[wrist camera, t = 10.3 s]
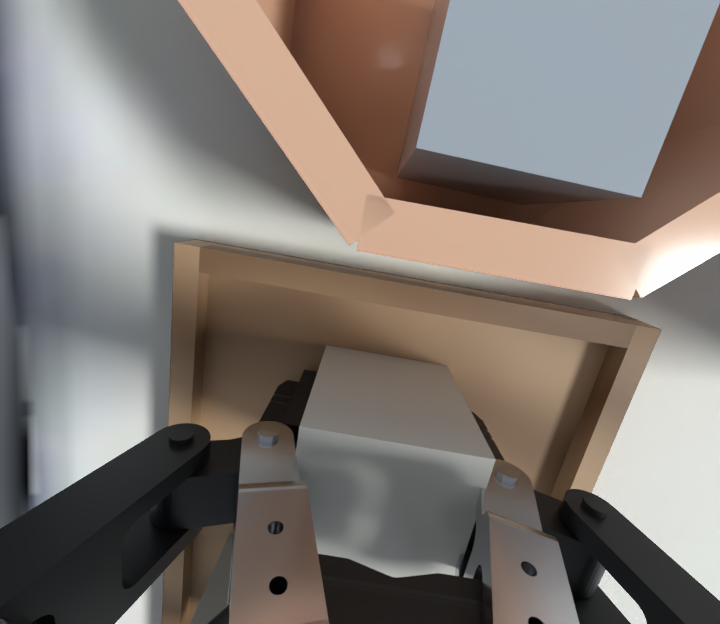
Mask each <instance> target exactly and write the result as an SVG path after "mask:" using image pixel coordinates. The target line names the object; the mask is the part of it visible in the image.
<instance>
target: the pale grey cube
mask: <svg viewBox="0 0 720 624" xmlns="http://www.w3.org/2000/svg"><path fill="white" fill-rule="evenodd" d="M295 457H297V464H298V471H299V478H300V481H306V484H307V489H308V495H309V501H310V507H311V513H312V520H313V526H314V532H315V538H316V545H317V551H318V554H324V555H330V556H336V557H342V558H348V559H351V560H353V561H355V562H358V563H360V564H362V565H365V566H367V567H370V568H372V569H374V570H377V571H379V572H381V573H384V574H386V575H388V576H391V577H396V578H399V577H408V576H417V575H426V574H435V573H441V574H447V575H453V576H455V567H456V564H457V561H458V558H459V555H460V554H465V551H466V548H467V545H468V542H469V539H470V536H471V533H472V530H473V527H474V524H475V521H476V503H477V500H478V497H479V494H480V491H481V488H485V489H486V488H487V485H488V482H489V479H490V476H491V473H492V469H493V466H494V463H495V460H496V459H495V457H494V455H493V453H492V451H491V449H490V447H489V446H488V444H487V442H486V440H485V438H484V436H483V434H482V432H481V430H480V428H479V426H478V424H477V422H476V420H475V418H474V416H473V414H472V412H471V411H470V409H469V407H468V405H467V403H466V401H465V399H464V397H463V395H462V393H461V391H460V389H459V387H458V385H457V383H456V381H455V379H454V377H453V376H452V374H451V372H450V370H449V368H448V366H444V365H438V364H432V363H427V362H421V361H415V360H410V359H404V358H398V357H392V356H387V355H381V354H375V353H369V352H364V351H358V350H352V349H346V348H341V347H335V346H329V345H326V348H325V351H324V354H323V357H322V360H321V363H320V366H319V369H318V372H317V375H316V378H315V381H314V384H313V387H312V390H311V393H310V396H309V399H308V402H307V405H306V408H305V411H304V414H303V417H302V420H301V423H300V426H299V433H298V440H297V447H296V453H295Z"/></svg>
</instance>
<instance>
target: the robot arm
mask: <svg viewBox="0 0 720 624" xmlns="http://www.w3.org/2000/svg"><path fill="white" fill-rule="evenodd" d="M316 375H317V371H311V370H305V369H304V371H303V374H302V376H301V378H300V381H299V382H297V381H291V380H287V381H285V382H283V383H282V384H280V385H279V386H278V387H277V389H276V391H275V393H274V395H273V396H272V398H271V401H270V402H269V404H268V406H267V408H266V410H265V411H264V413H263V415H262V417H261V419H260V421H259V422H257V423H254V424H252V425H250V426H248V427H247V428H246V429H245V430H244V432H243V434H242V437H239V438H236V439H229V440H211V435H210V432H209V431H208V430H207V429H206V428H205V427H203V426H201V425H198V424H193V423H181V424H175V425H171V426H168V427H166V428H163V429H162V430H160V431H158V432H157V433H155V434H153V435H152V436H150V437H148V438H147V439H145V440H144V441H142V442H140V443H139V444H137V445H135V446H134V447H132V448H131V449H129V450H127V451H126V452H124V453H122V454H121V455H119V456H118V457H116V458H114V459H113V460H111V461H109V462H108V463H106V464H105V465H103V466H101V467H100V468H98V469H96V470H95V471H93V472H92V473H90V474H88V475H87V476H85V477H83V478H82V479H80V480H79V481H77V482H75V483H74V484H72V485H70V486H69V487H67V488H66V489H64V490H62V491H61V492H59V493H57V494H56V495H54V496H53V497H51V498H49V499H48V500H46V501H44V502H43V503H41V504H40V505H38V506H36V507H35V508H33V509H32V510H30V511H28V512H27V513H25V514H23V515H22V516H20V517H19V518H17V519H15V520H14V521H12V522H10V523H9V524H7V525H6V526H4V527H2V528H1V529H0V624H115V623H116V622H117V621H118V619H119V618H120V617H121V616H122V615H123V614H124V613H125V612H126V611H127V610H128V609H129V608H130V607H131V606H132V605H133V603H134V602H135V601H136V600H137V599H138V598H139V597H140V596H141V595H142V594H143V593H144V592H145V591H146V590H147V588H148V587H149V586H150V585H151V584H152V583H153V582H154V581H155V580H156V579H157V578H158V577H159V576H160V575H161V573H162V572H163V571H164V570H165V569H166V568H167V567H168V566H169V565H170V564H171V563H172V562H173V561H174V560H175V559H176V557H177V556H178V555H179V554H180V553H181V552H182V551H183V550H184V549H185V548H186V547H187V546H188V545H189V544H190V542H191V541H192V540H193V539H194V538H195V537H196V536H197V535H198V534H199V533H200V531H201V530H202V528H203V527H207V526H214V525H222V524H230V523H234V526H233V539H232V551H231V564H230V576H229V588H228V599H227V607H226V608H225V609H223V610H222V611H221V612H220V613H219V614H218V615H216V616H215V617H214V618H213V619H212V620H211V621H210V622H208V623H207V624H631V623H630V622H629V621H628V620H627V619H626V618H625V617H624V615H623V614H622V613H621V612H620V611H619V610H618V608H617V607H616V606H615V605H614V604H613V603H612V601H611V600H610V599H609V598H608V597H607V596H606V595H605V593H604V592H603V591H602V590H601V589H600V588H599V586H598V584H599V582H600V580H601V578H602V576H603V574H604V572H605V570H607V571H608V572H609V573H610V574H611V575H612V577H613V578H614V579H615V580H616V581H617V582H618V583H619V584H620V585H621V586H622V587H623V588H624V590H625V591H626V592H627V593H628V594H629V595H630V596H631V597H632V598H633V599H634V600H635V601H636V603H637V604H638V605H639V606H640V608H641V609H642V611H643V613H644V615H645V618H646V621H647V624H720V601H719V600H718V599H717V598H716V597H715V596H713V595H712V594H711V593H710V592H709V591H708V590H707V589H705V588H704V587H703V586H702V585H701V584H700V583H699V582H698V581H696V580H695V579H694V578H693V577H692V576H691V575H690V574H689V573H687V572H686V571H685V570H684V569H683V568H682V567H681V566H679V565H678V564H677V563H676V562H675V561H674V560H673V559H672V558H670V557H669V556H668V555H667V554H666V553H665V552H664V551H663V550H661V549H660V548H659V547H658V546H657V545H656V544H655V543H653V542H652V541H651V540H650V539H649V538H648V537H647V536H646V535H644V534H643V533H642V532H641V531H640V530H639V529H638V528H637V527H635V526H634V525H633V524H632V523H631V522H630V521H629V520H627V519H626V518H625V517H624V516H623V515H622V514H621V513H620V512H618V511H617V510H616V509H615V508H614V507H613V506H611V505H610V504H609V503H608V502H606V501H605V500H603V499H602V498H600V497H598V496H596V495H594V494H592V493H590V492H587V491H584V490H580V489H569V490H567V491H566V492H565V495H564V497H563V500H562V501H561V500H558V499H556V498H553V497H550V496H548V495H545V494H543V493H540V492H538V491H535V490H534V489H533V485H532V482H531V480H530V478H529V477H528V476H527V475H526V474H525V473H524V472H523V471H522V470H521V469H519V468H518V467H516V466H515V465H513V464H511V463H509V462H506V461H505V460H504V458H503V456H502V455H501V453H500V451H499V449H498V447H497V446H496V444H495V442H494V440H492V436H491V435H490V433H489V432H488V429H487V427H486V425H485V424H484V422H483V420H481V419H480V418H479V417H478V416H477V415H476V414H475V413H474V412H472V414H473V416H474V418H475V420H476V422H477V424H478V426H479V428H480V430H481V432H482V434H483V436H484V438H485V440H486V442H487V444H488V446H489V447H490V449H491V451H492V453H493V455H494V457H495V459H496V460H495V463H494V466H493V469H492V473H491V476H490V479H489V482H488V485H487V488H486V489H485V488H481V491H480V494H479V497H478V500H477V503H476V521H475V524H474V527H473V530H472V533H471V536H470V539H469V542H468V545H467V548H466V551H465V554H460V555H459V558H458V561H457V564H456V567H455V576H453V575H447V574H441V573H435V574H426V575H417V576H408V577H399V578H396V577H391V576H388V575H386V574H384V573H381V572H379V571H377V570H374V569H372V568H370V567H367V566H365V565H362V564H360V563H358V562H355V561H353V560H351V559H348V558H342V557H336V556H330V555H324V554H318V551H317V545H316V538H315V532H314V526H313V520H312V513H311V507H310V501H309V495H308V489H307V484H306V481H300V478H299V471H298V464H297V457H295V453H296V447H297V440H298V433H299V426H300V423H301V420H302V417H303V414H304V411H305V408H306V405H307V402H308V399H309V396H310V393H311V390H312V387H313V384H314V381H315V378H316ZM210 440H211V441H210Z"/></svg>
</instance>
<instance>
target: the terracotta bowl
mask: <svg viewBox="0 0 720 624" xmlns="http://www.w3.org/2000/svg"><path fill="white" fill-rule="evenodd" d="M178 1H179V3H180V4H181V6H182V7H183V9H184V10H185V11H186V13H187V14H188V16H189V17H190V19H191V20H192V21H193V23H194V24H195V26H196V27H197V29H198V30H199V32H200V33H201V34H202V36H203V37H204V39H205V40H206V42H207V43H208V44H209V46H210V47H211V49H212V50H213V52H214V53H215V54H216V56H217V57H218V59H219V60H220V62H221V63H222V64H223V66H224V67H225V69H226V70H227V72H228V73H229V74H230V76H231V77H232V79H233V80H234V82H235V83H236V85H237V86H238V87H239V89H240V90H241V92H242V93H243V95H244V96H245V97H246V99H247V100H248V102H249V103H250V105H251V106H252V107H253V109H254V110H255V112H256V113H257V115H258V116H259V117H260V119H261V120H262V122H263V123H264V125H265V126H266V128H267V129H268V130H269V132H270V133H271V135H272V136H273V138H274V139H275V140H276V142H277V143H278V145H279V146H280V148H281V149H282V150H283V152H284V153H285V155H286V156H287V158H288V159H289V160H290V162H291V163H292V165H293V166H294V168H295V169H296V170H297V172H298V173H299V175H300V176H301V178H302V179H303V181H304V182H305V183H306V185H307V186H308V188H309V189H310V191H311V192H312V193H313V195H314V196H315V198H316V199H317V201H318V202H319V203H320V205H321V206H322V208H323V209H324V211H325V212H326V213H327V215H328V216H329V218H330V219H331V221H332V222H333V224H334V225H335V226H336V228H337V229H338V231H339V232H340V234H341V235H342V236H343V238H344V239H345V241H346V242H347V244H348V245H351V244H352V243H353V242H355V241H356V240H358V239H359V241H358V247H357V251H361V252H367V253H372V254H378V255H383V256H389V257H394V258H400V259H406V260H411V261H417V262H422V263H428V264H433V265H439V266H444V267H450V268H456V269H461V270H467V271H472V272H478V273H483V274H489V275H494V276H500V277H506V278H511V279H517V280H522V281H528V282H533V283H539V284H544V285H550V286H555V287H561V288H567V289H572V290H578V291H583V292H589V293H594V294H600V295H605V296H611V297H617V298H622V299H628V300H632V297H633V296H635V297H638V298H642V297H644V296H646V295H648V294H649V293H651V292H653V291H654V290H656V289H658V288H660V287H661V286H663V285H665V284H667V283H668V282H670V281H672V280H673V279H675V278H677V277H679V276H680V275H682V274H684V273H686V272H687V271H689V270H691V269H692V268H694V267H696V266H698V265H699V264H701V263H703V262H705V261H706V260H708V259H710V258H711V257H713V256H715V255H717V254H718V253H720V4H719V6H718V9H717V11H716V14H715V16H714V19H713V21H712V24H711V26H710V29H709V31H708V34H707V36H706V39H705V41H704V43H703V46H702V48H701V51H700V53H699V56H698V58H697V61H696V63H695V66H694V68H693V71H692V73H691V76H690V78H689V81H688V83H687V86H686V88H685V91H684V93H683V95H682V98H681V100H680V103H679V105H678V108H677V110H676V113H675V115H674V118H673V120H672V123H671V125H670V128H669V130H668V133H667V135H666V138H665V140H664V142H663V145H662V147H661V150H660V152H659V155H658V157H657V160H656V162H655V165H654V167H653V170H652V172H651V175H650V177H649V180H648V182H647V185H646V187H645V190H644V192H643V194H642V197H641V198H628V199H612V200H595V201H579V202H563V203H547V204H531V205H519V204H515V203H510V202H506V201H501V200H496V199H492V198H487V197H483V196H478V195H473V194H469V193H464V192H460V191H455V190H451V189H446V188H441V187H437V186H432V185H428V184H423V183H419V182H414V181H409V180H405V179H400V178H396V174H397V169H398V165H399V160H400V156H401V151H402V146H403V142H404V137H405V133H406V128H407V124H408V119H409V115H410V110H411V106H412V101H413V96H414V92H415V87H416V83H417V78H418V74H419V69H420V65H421V60H422V56H423V51H424V46H425V42H426V37H427V33H428V28H429V24H430V19H431V15H432V10H433V7H434V3H435V0H178Z"/></svg>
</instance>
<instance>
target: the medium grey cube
mask: <svg viewBox="0 0 720 624" xmlns="http://www.w3.org/2000/svg"><path fill="white" fill-rule="evenodd" d="M232 539H233V532H230V534H229V536H228V538H227V541H226V543H225V545H224V548H223V550H222V552H221V554H220V557H219V559H218V561H217V563H216V566H215V568H214V570H213V572H212V575H211V577H210V579H209V582H208V584H207V586H206V588H205V591H204V593H203V595H202V597H201V600H200V602H199V604H198V607H197V609H196V611H195V613H194V616H193V618H192V620H191V622H190V624H207V623H208V622H210V621H211V620H212V619H213V618H214V617H215V616H216V615H218V614H219V613H220V612H221V611H222V610H223V609H225V608H226V607H227V599H228V588H229V576H230V564H231V551H232Z"/></svg>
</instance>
